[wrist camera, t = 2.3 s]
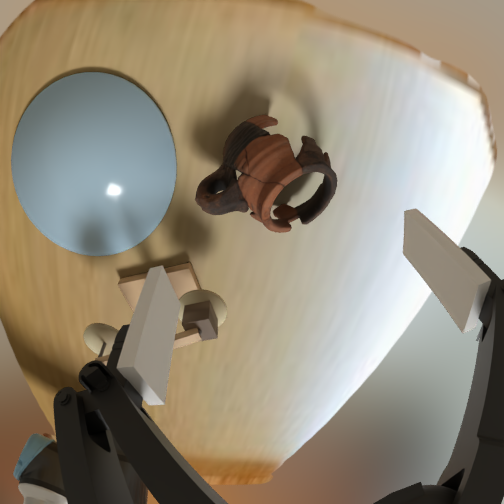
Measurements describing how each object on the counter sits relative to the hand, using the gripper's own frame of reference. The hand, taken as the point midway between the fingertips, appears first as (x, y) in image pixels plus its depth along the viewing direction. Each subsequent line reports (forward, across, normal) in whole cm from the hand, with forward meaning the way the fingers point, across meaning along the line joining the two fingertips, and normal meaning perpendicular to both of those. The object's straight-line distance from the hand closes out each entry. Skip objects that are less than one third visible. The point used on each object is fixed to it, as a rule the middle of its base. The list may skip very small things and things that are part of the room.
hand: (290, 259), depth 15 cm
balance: (+15, -14, -10) cm, 23 cm away
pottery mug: (+16, 0, +1) cm, 16 cm away
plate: (+15, -17, +6) cm, 24 cm away
